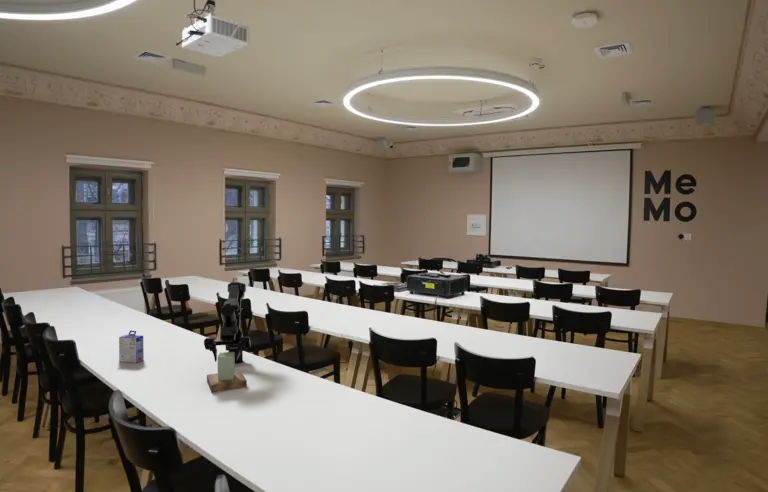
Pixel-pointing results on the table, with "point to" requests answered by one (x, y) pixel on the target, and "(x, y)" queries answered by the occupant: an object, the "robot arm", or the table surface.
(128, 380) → the table surface
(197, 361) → the table surface
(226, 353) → the sage block
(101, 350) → the table surface
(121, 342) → the ink cartridge box
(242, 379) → the walnut plinth
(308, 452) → the table surface
